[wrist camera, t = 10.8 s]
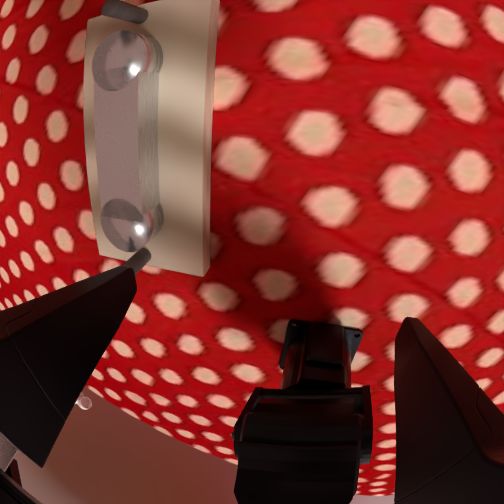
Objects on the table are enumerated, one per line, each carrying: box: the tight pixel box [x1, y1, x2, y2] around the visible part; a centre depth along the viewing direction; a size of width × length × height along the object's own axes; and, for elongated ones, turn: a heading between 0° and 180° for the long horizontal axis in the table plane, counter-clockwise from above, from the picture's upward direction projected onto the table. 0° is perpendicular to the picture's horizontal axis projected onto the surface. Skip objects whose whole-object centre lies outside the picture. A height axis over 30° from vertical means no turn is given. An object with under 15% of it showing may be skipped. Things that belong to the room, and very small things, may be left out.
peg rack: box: [84, 0, 220, 277], centre depth 18 cm, size 20×10×5 cm, turn 176°
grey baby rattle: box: [92, 30, 164, 252], centre depth 17 cm, size 15×4×2 cm, turn 176°
